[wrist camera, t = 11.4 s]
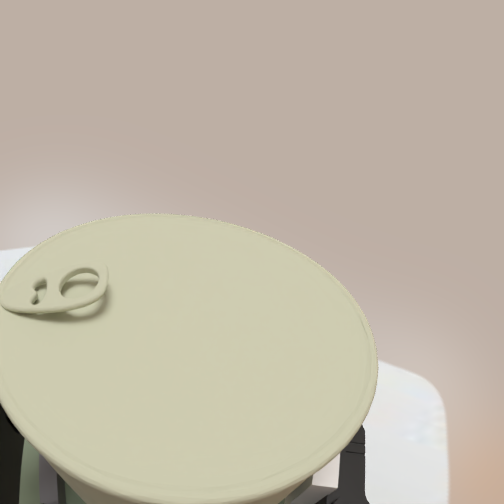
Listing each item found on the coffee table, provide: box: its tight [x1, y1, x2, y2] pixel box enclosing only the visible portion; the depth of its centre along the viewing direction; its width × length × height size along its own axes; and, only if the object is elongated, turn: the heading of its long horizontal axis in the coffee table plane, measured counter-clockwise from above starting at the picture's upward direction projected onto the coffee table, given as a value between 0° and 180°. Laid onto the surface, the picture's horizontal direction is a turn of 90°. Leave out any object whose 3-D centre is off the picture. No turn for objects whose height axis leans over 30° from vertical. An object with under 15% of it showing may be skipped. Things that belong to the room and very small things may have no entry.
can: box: [0, 214, 378, 504], centre depth 9 cm, size 9×9×12 cm
